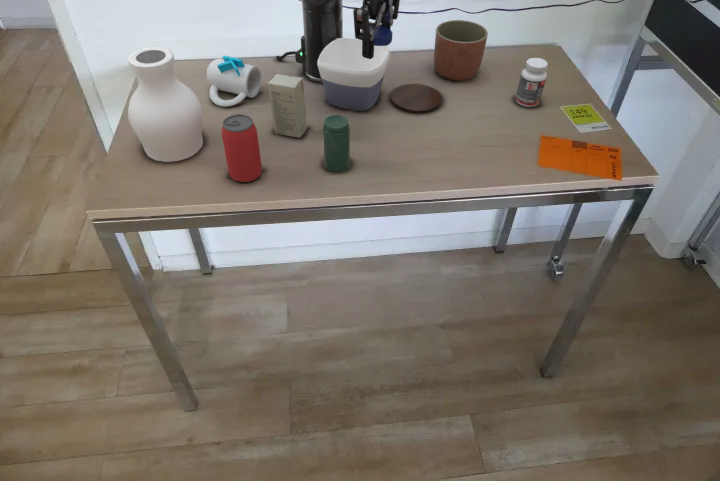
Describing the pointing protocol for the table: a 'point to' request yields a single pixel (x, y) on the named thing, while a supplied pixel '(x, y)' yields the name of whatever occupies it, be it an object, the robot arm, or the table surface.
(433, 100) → the trivet
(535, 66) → the pill bottle
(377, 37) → the lid
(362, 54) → the robot arm
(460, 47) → the planter
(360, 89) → the bowl
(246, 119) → the beer can
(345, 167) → the jar
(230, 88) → the mug
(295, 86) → the cosmetic box
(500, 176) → the table surface
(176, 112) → the vase
